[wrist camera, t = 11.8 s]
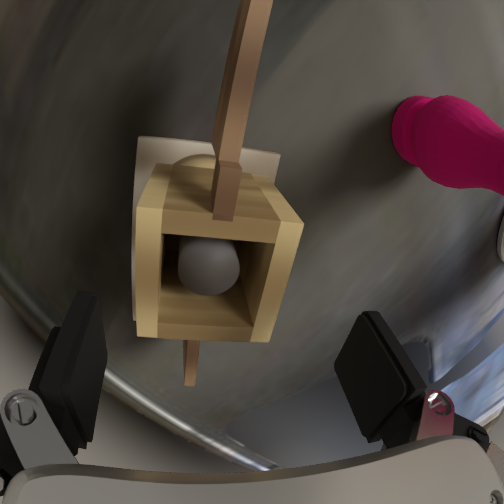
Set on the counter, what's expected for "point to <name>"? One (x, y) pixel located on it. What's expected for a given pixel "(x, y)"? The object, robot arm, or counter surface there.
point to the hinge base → (174, 152)
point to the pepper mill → (450, 142)
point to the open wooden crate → (218, 220)
